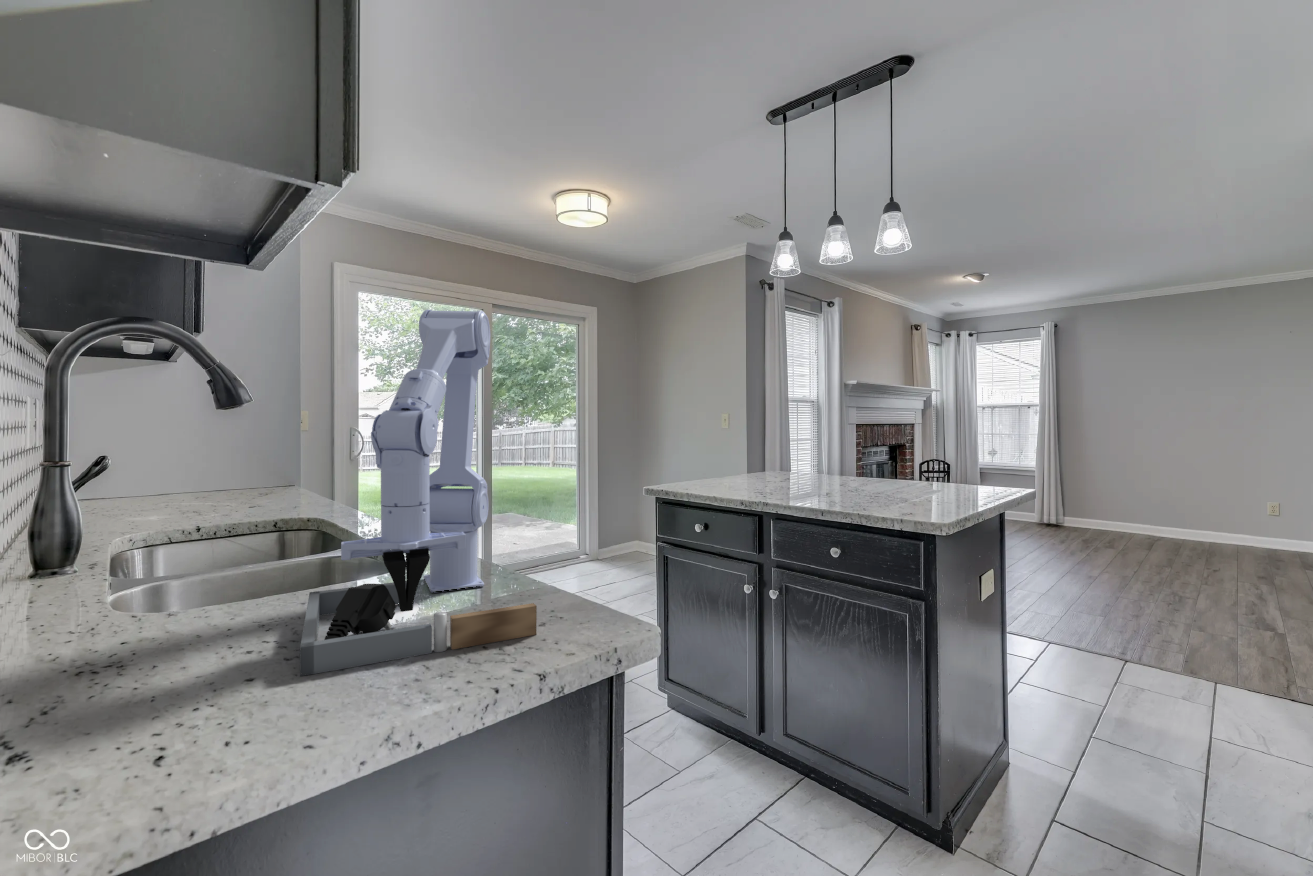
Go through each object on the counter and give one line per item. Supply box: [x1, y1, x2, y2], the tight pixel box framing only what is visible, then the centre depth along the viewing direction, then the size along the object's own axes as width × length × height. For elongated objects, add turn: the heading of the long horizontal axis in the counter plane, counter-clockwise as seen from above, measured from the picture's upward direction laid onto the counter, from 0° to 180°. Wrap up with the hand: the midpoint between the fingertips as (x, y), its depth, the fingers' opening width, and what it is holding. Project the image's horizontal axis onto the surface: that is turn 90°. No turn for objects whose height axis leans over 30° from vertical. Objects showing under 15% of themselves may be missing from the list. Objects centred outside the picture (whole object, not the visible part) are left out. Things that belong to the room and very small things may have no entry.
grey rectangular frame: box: [299, 581, 448, 677], centre depth 71 cm, size 21×14×4 cm
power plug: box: [323, 583, 397, 640], centre depth 67 cm, size 6×8×12 cm
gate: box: [449, 602, 538, 650], centre depth 69 cm, size 10×1×4 cm, turn 119°
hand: (406, 608), depth 73 cm, fingers closed
